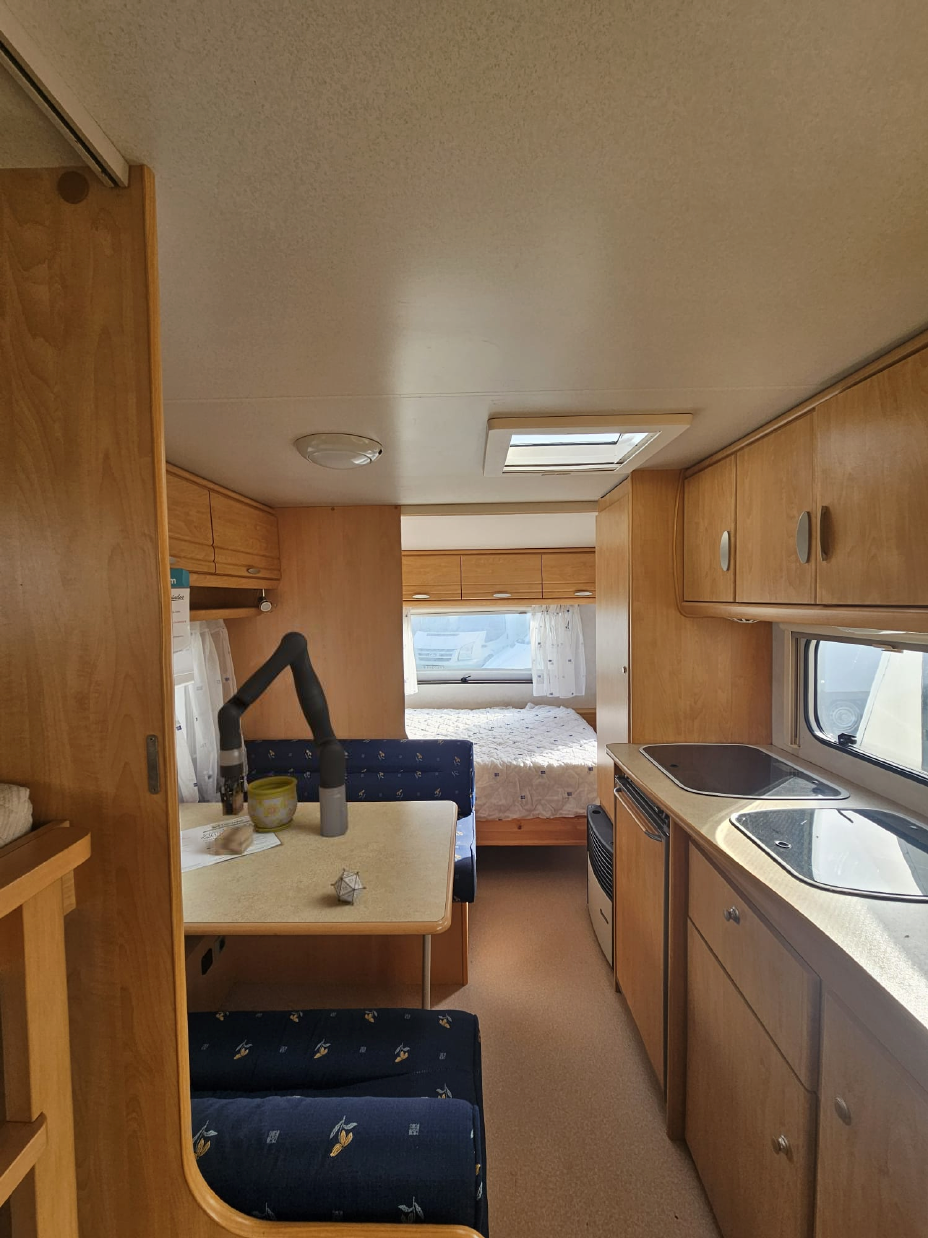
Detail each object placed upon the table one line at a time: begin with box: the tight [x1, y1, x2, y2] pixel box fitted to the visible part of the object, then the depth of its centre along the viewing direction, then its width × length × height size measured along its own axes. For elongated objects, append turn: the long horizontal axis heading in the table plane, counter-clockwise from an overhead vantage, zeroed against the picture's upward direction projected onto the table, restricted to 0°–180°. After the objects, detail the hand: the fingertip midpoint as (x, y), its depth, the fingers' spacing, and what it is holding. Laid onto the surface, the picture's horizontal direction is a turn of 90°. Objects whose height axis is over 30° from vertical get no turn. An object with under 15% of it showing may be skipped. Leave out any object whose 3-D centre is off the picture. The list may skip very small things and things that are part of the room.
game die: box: [329, 867, 367, 906], centre depth 143 cm, size 9×8×10 cm
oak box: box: [214, 826, 254, 857], centre depth 179 cm, size 9×9×6 cm
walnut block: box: [221, 792, 245, 817], centre depth 179 cm, size 5×5×6 cm
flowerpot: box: [246, 775, 298, 834], centre depth 198 cm, size 18×18×16 cm
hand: (233, 810), depth 179 cm, fingers closed on walnut block, 5 cm apart
